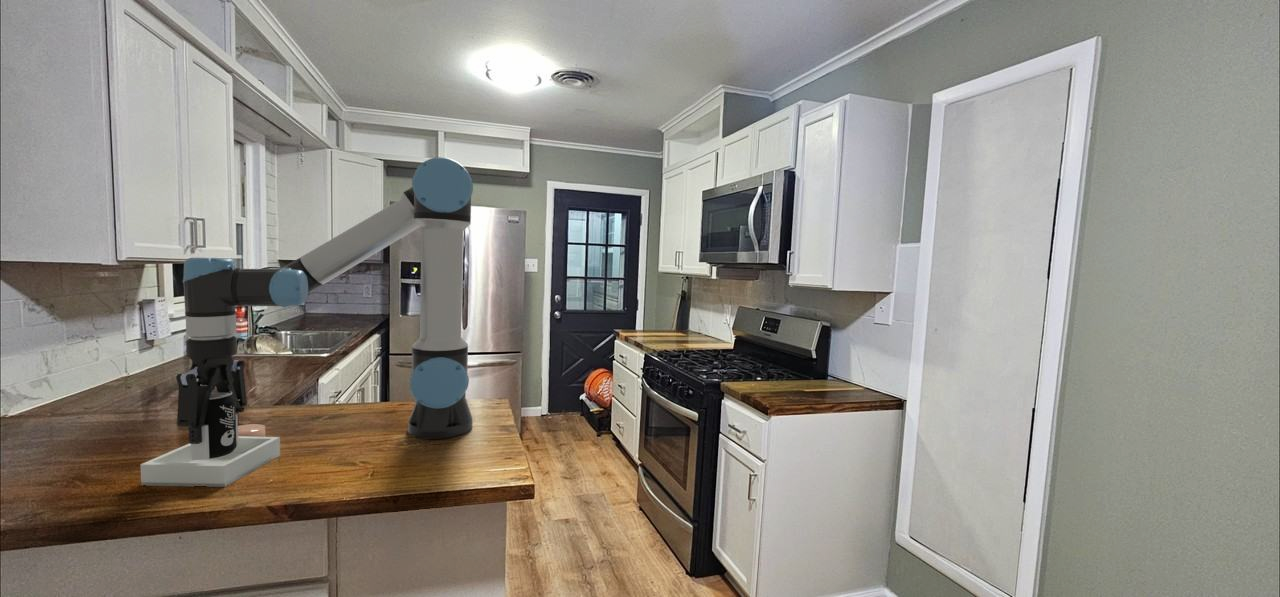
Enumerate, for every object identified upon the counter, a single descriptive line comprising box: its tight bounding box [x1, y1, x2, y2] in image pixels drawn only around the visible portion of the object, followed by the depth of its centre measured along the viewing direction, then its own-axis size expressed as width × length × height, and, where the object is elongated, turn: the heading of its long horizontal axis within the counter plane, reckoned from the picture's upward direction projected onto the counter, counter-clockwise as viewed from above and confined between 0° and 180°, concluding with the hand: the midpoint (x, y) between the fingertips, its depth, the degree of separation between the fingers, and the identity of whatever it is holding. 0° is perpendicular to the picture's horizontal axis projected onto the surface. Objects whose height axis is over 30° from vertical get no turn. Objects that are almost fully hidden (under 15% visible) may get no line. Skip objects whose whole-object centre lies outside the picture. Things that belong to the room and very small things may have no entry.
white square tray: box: [139, 436, 281, 488], centre depth 100 cm, size 15×15×4 cm
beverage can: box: [196, 390, 237, 459], centre depth 100 cm, size 7×7×12 cm
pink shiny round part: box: [238, 423, 266, 437], centre depth 114 cm, size 8×8×3 cm
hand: (215, 451), depth 100 cm, fingers closed on beverage can, 7 cm apart
